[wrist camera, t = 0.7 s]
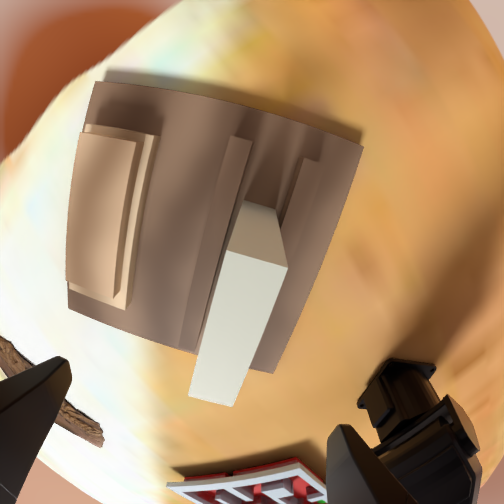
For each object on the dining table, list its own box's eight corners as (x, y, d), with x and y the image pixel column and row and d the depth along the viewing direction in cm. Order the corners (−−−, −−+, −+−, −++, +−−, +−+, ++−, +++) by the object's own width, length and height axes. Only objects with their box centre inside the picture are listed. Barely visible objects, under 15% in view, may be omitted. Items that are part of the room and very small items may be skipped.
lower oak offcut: (160, 136, 16) (154, 135, 15) (131, 302, 20) (125, 310, 19) (95, 124, 16) (86, 123, 15) (76, 282, 20) (69, 288, 19)
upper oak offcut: (144, 142, 15) (136, 142, 14) (120, 290, 19) (112, 298, 17) (90, 132, 15) (80, 132, 14) (74, 273, 18) (65, 280, 17)
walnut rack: (358, 146, 17) (375, 146, 14) (272, 365, 23) (273, 391, 20) (102, 83, 16) (79, 76, 13) (73, 302, 22) (56, 320, 19)
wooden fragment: (123, 439, 29) (120, 445, 28) (88, 448, 32) (86, 453, 31) (-18, 295, 23) (-23, 299, 22) (-29, 330, 26) (-33, 333, 25)
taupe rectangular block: (275, 209, 18) (288, 267, 9) (243, 306, 20) (232, 407, 12) (243, 199, 18) (226, 250, 9) (215, 298, 20) (187, 395, 11)
